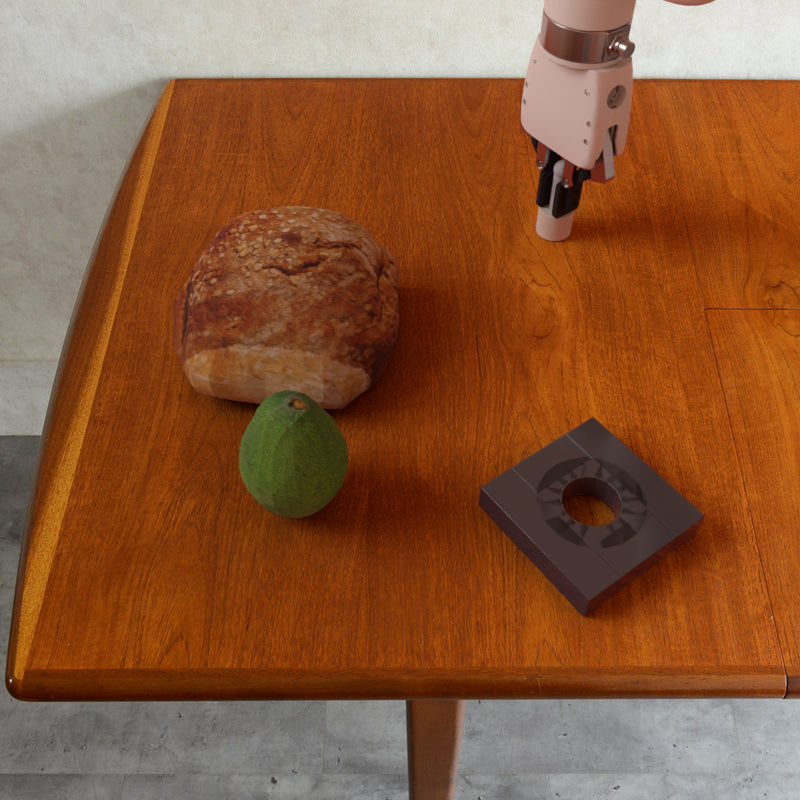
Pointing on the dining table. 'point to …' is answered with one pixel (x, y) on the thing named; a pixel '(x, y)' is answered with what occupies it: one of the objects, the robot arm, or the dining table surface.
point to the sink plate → (583, 544)
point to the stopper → (546, 222)
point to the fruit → (293, 455)
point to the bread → (288, 308)
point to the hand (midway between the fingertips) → (556, 205)
